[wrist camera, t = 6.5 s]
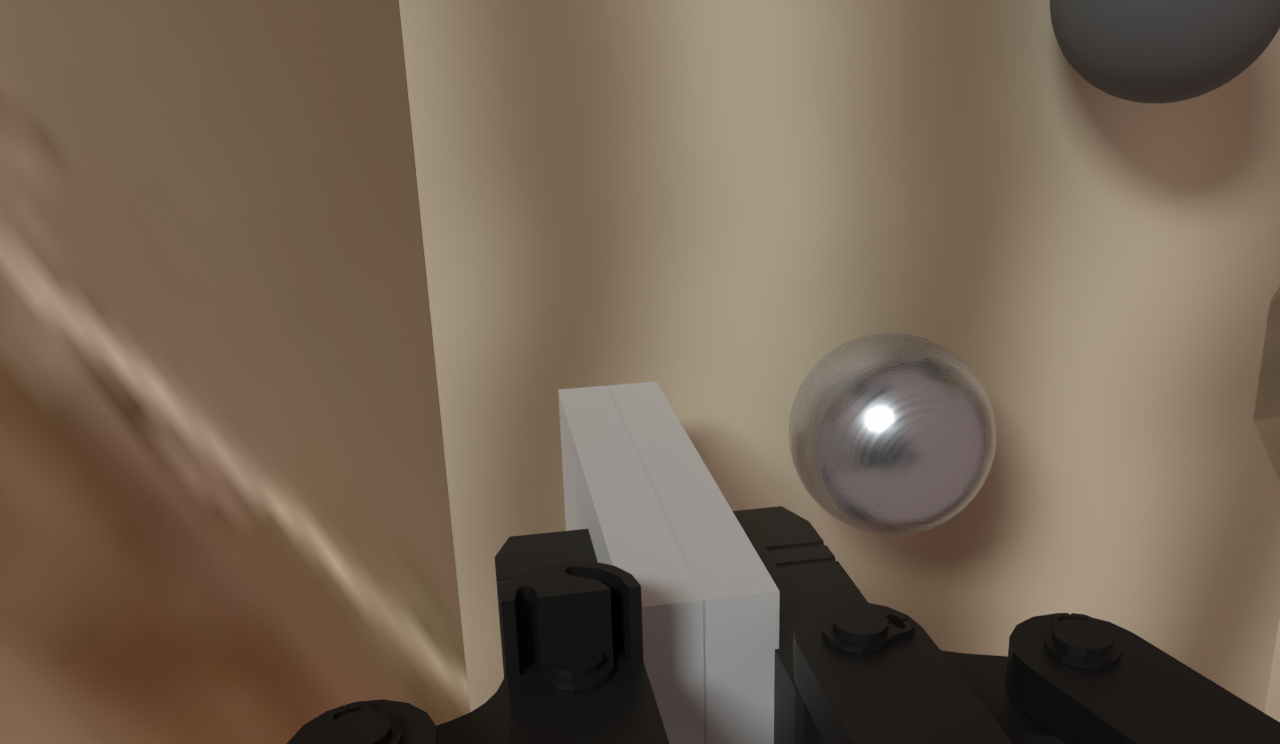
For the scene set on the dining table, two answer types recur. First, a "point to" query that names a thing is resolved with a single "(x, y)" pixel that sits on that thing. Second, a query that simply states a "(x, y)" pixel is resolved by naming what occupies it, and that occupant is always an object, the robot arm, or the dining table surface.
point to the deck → (867, 291)
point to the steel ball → (892, 434)
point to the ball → (1162, 43)
